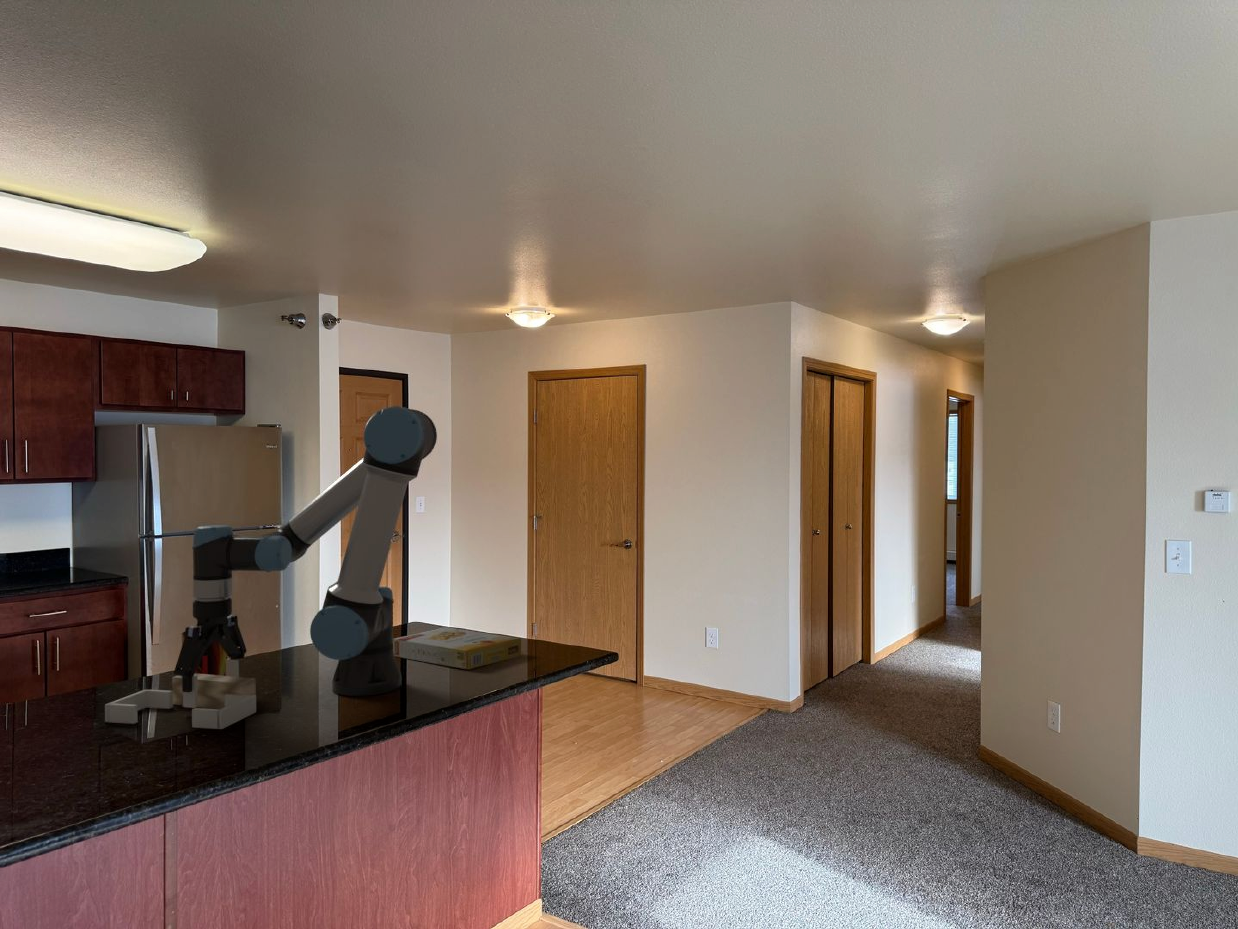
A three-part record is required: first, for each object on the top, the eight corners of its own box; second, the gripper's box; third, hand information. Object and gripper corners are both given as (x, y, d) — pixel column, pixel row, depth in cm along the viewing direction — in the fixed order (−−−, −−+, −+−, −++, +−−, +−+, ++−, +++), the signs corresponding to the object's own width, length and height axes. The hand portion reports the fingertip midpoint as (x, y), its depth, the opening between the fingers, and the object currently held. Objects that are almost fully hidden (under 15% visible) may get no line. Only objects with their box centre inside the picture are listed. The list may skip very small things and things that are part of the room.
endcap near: (256, 712, 174) (256, 695, 174) (221, 729, 163) (221, 711, 163) (228, 710, 175) (227, 693, 175) (192, 727, 165) (191, 709, 165)
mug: (203, 693, 188) (203, 640, 188) (174, 683, 196) (173, 632, 196) (245, 684, 196) (244, 632, 196) (215, 675, 204) (214, 625, 204)
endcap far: (105, 722, 168) (104, 704, 168) (145, 705, 179) (145, 689, 179) (133, 723, 167) (133, 706, 167) (172, 707, 178) (172, 690, 178)
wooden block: (255, 706, 179) (255, 678, 179) (242, 712, 175) (242, 683, 175) (187, 700, 184) (186, 672, 184) (172, 705, 180) (172, 677, 180)
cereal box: (468, 650, 206) (390, 636, 222) (467, 672, 206) (390, 657, 222) (522, 636, 223) (446, 624, 238) (522, 657, 223) (446, 644, 238)
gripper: (233, 588, 192) (233, 681, 192) (154, 607, 168) (154, 714, 168) (263, 589, 191) (262, 683, 191) (188, 609, 166) (187, 716, 166)
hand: (212, 697), depth 179 cm, fingers open, 13 cm apart
